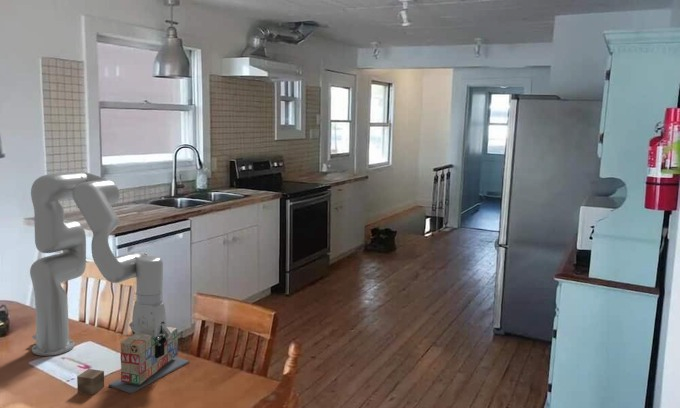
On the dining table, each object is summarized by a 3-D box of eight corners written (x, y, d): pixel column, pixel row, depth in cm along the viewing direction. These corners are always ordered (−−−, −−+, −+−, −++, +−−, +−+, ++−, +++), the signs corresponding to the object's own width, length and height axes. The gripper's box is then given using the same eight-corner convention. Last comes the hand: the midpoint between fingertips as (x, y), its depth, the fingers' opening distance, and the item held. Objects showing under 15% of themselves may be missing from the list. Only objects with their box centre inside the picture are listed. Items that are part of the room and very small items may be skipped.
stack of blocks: (160, 352, 180) (160, 316, 178) (178, 355, 178) (178, 319, 176) (120, 381, 159) (120, 341, 157) (139, 385, 158) (139, 344, 156)
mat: (108, 386, 160) (108, 384, 160) (168, 356, 181) (168, 354, 181) (131, 393, 156) (131, 391, 156) (189, 362, 177) (189, 360, 177)
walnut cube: (77, 392, 155) (77, 376, 155) (89, 384, 160) (88, 368, 159) (93, 395, 154) (92, 378, 154) (104, 387, 159) (103, 370, 158)
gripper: (119, 295, 165) (120, 351, 168) (162, 306, 158) (162, 364, 160) (138, 289, 172) (138, 343, 175) (180, 299, 164) (180, 355, 167)
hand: (150, 353), depth 167 cm, fingers closed on stack of blocks, 7 cm apart
